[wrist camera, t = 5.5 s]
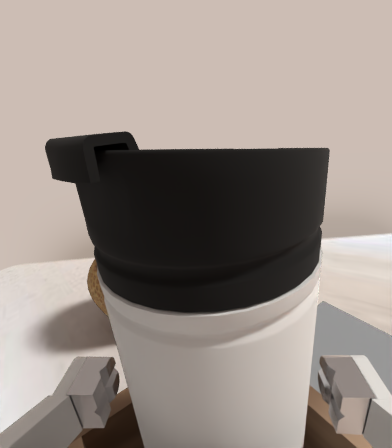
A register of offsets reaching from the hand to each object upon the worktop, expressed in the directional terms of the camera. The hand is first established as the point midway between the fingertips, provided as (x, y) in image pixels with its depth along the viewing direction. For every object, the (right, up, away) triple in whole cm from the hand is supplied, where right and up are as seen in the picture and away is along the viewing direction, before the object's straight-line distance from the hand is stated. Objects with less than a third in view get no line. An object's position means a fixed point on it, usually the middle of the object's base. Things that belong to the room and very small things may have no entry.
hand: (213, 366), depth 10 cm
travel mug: (+1, -11, +4) cm, 11 cm away
